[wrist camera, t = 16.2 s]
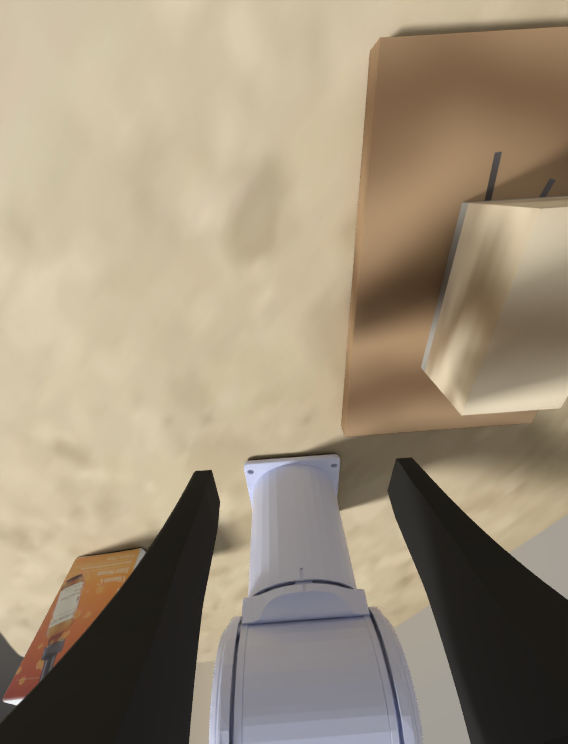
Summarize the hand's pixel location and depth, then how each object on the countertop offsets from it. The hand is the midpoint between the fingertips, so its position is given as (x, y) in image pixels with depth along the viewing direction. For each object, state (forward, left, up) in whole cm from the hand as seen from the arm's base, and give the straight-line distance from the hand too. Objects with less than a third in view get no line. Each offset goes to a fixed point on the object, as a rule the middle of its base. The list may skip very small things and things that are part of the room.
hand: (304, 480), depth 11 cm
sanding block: (+4, -11, -8) cm, 14 cm away
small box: (-25, +20, -9) cm, 33 cm away
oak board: (+4, -11, -9) cm, 15 cm away
